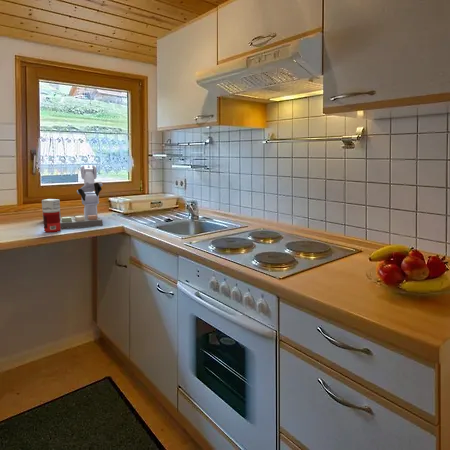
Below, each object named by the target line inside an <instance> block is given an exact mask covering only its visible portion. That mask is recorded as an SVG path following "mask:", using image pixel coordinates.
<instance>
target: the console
mask: <svg viewBox="0 0 450 450" xmlns="http://www.w3.org/2000/svg"><path fill="white" fill-rule="evenodd" d="M71 219H72V221H70V222H62V219H61V220H60V225H61V229H62V230H64V229H75V228H84V227H85V228H86V227H97V226H98V227H99V226H103V224H104V223H103V222H104V220H103V219H101V218H100V217H97V219H95V220H88V218H85V220H82V221H75V218H71Z"/></svg>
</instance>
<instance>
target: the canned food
mask: <svg viewBox="0 0 450 450" xmlns="http://www.w3.org/2000/svg"><path fill="white" fill-rule="evenodd" d="M60 214H61V210H60V211H59V210H56V209H53V210H44V211H42V220H44V221H43V229H44V230H43V231H44V232H45V233H47V234H48V233H49V234H51V233H52V234H53V233H59V232H61V225H60Z"/></svg>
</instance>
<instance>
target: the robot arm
mask: <svg viewBox="0 0 450 450" xmlns="http://www.w3.org/2000/svg"><path fill="white" fill-rule="evenodd" d="M97 173H98V170H97V166H96V165H94V164H93V165H92V164H89V165H88V164H86V165H85V164H84V165H80V176H81V177H80V178H81V179H82V180H83V184H84V185H83V186H81V187H80V188H78V189H77V190H76V193H77V195H80V197H81V204H82V205H84V208H83V216H84V217H85V218H88V215H97V217H98V205H99V204H100V192H101V191H102V189H103V188H102V187H104V185H103V182H102V181H97V182H96V181H95V180H96V179H97ZM98 218H99V217H98Z"/></svg>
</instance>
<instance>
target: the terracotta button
mask: <svg viewBox="0 0 450 450" xmlns="http://www.w3.org/2000/svg"><path fill="white" fill-rule="evenodd" d="M97 216H98V214H97V215H88V220H95V219H97Z"/></svg>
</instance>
